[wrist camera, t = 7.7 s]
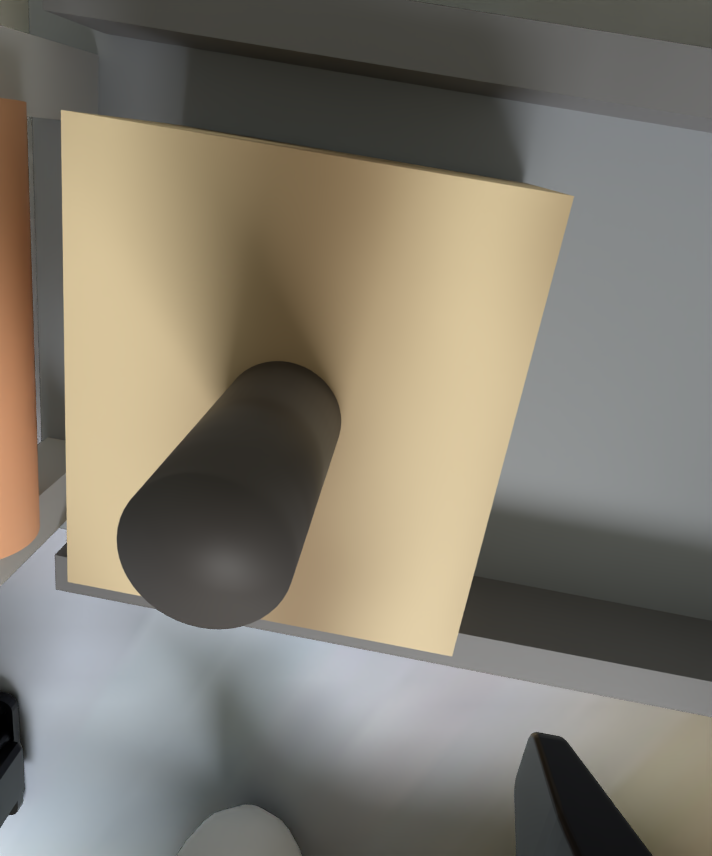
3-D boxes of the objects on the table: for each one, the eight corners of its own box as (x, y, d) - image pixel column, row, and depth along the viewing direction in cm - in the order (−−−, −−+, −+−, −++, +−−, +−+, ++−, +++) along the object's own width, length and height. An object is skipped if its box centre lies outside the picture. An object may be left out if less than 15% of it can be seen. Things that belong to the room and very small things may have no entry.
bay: (45, 508, 24) (-131, 668, 16) (30, -28, 17) (-266, -164, 10) (809, 653, 23) (992, 894, 15) (1077, 140, 16) (1605, 127, 9)
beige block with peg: (162, 470, 21) (-86, 760, 11) (179, 124, 17) (-179, 79, 7) (446, 523, 21) (461, 873, 11) (527, 183, 17) (671, 222, 7)
